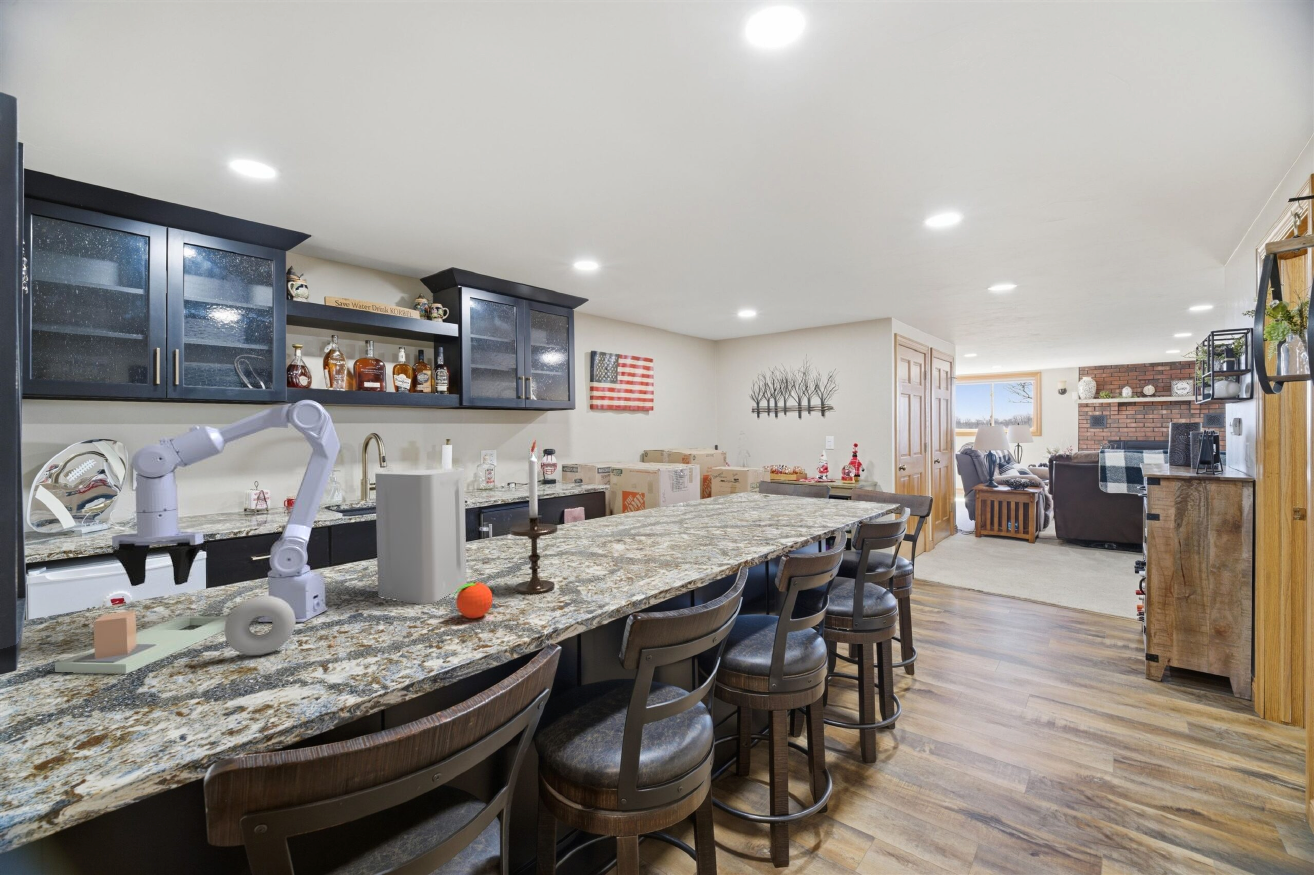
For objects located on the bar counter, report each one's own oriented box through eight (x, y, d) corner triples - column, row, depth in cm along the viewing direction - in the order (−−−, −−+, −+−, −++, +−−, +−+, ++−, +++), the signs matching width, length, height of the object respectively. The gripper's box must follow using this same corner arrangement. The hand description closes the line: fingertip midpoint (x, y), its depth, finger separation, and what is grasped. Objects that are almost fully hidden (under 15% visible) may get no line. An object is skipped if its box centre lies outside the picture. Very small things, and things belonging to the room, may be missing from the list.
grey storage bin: (379, 610, 118) (376, 476, 118) (378, 592, 131) (375, 472, 131) (474, 597, 127) (471, 472, 126) (464, 581, 140) (461, 468, 139)
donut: (222, 664, 92) (221, 603, 92) (227, 656, 95) (225, 597, 95) (295, 652, 97) (294, 594, 97) (297, 645, 100) (296, 589, 100)
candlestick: (557, 581, 139) (555, 438, 138) (559, 593, 128) (556, 439, 128) (511, 584, 137) (509, 439, 136) (510, 597, 126) (507, 440, 125)
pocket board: (238, 624, 111) (238, 615, 111) (126, 673, 89) (125, 663, 89) (180, 623, 112) (180, 615, 112) (55, 672, 90) (54, 661, 90)
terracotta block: (136, 645, 96) (135, 610, 96) (127, 653, 93) (126, 617, 92) (105, 650, 94) (104, 614, 94) (94, 658, 91) (93, 621, 91)
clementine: (459, 627, 108) (459, 590, 108) (445, 618, 113) (445, 582, 113) (499, 617, 113) (498, 582, 113) (484, 609, 118) (483, 575, 118)
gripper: (214, 506, 108) (216, 577, 109) (134, 508, 108) (137, 579, 108) (185, 512, 101) (188, 587, 102) (100, 513, 101) (103, 589, 101)
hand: (159, 583), depth 104 cm, fingers open, 7 cm apart
